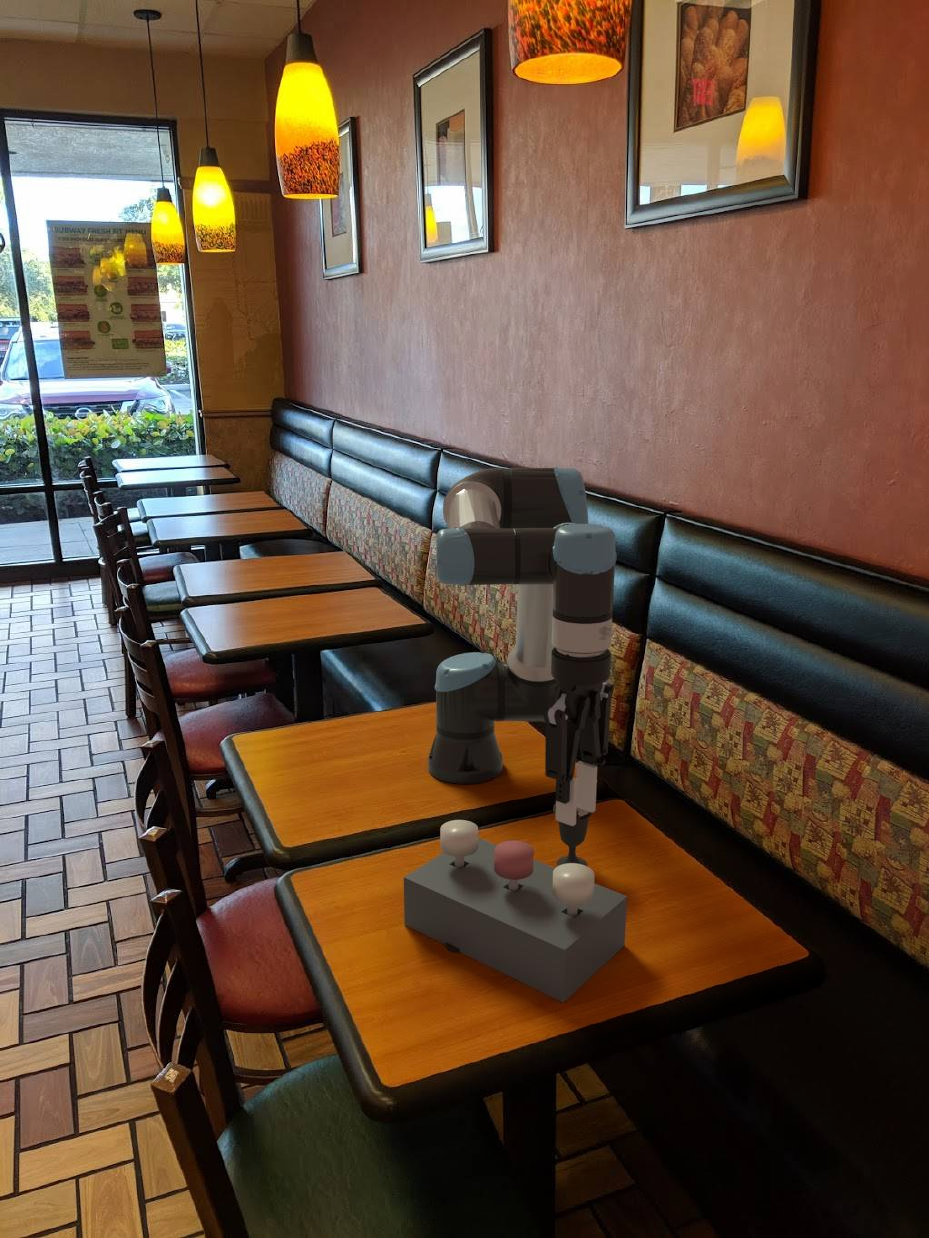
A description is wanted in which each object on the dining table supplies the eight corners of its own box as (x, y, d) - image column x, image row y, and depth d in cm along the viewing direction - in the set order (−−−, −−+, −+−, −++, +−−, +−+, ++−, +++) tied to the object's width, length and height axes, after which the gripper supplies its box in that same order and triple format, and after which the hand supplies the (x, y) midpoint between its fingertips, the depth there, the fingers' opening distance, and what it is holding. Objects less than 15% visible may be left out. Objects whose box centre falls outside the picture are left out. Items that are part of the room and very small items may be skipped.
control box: (471, 879, 156) (471, 834, 154) (624, 945, 139) (627, 896, 137) (404, 924, 144) (403, 877, 142) (563, 1002, 127) (564, 949, 125)
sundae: (546, 870, 158) (549, 787, 154) (557, 851, 164) (559, 770, 160) (586, 878, 156) (589, 793, 152) (595, 858, 162) (599, 776, 158)
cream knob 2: (565, 907, 137) (567, 858, 135) (600, 922, 134) (602, 872, 132) (543, 925, 133) (544, 875, 131) (578, 941, 130) (580, 889, 128)
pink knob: (509, 883, 144) (509, 836, 141) (540, 897, 140) (541, 848, 138) (486, 900, 139) (486, 851, 137) (517, 914, 136) (518, 864, 134)
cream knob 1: (456, 861, 150) (456, 816, 147) (485, 874, 146) (485, 827, 144) (433, 877, 145) (432, 830, 143) (462, 889, 142) (462, 842, 140)
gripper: (569, 672, 114) (563, 849, 120) (641, 637, 127) (632, 800, 133) (517, 659, 118) (514, 831, 125) (591, 627, 131) (586, 785, 138)
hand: (575, 814), depth 129 cm, fingers open, 4 cm apart
